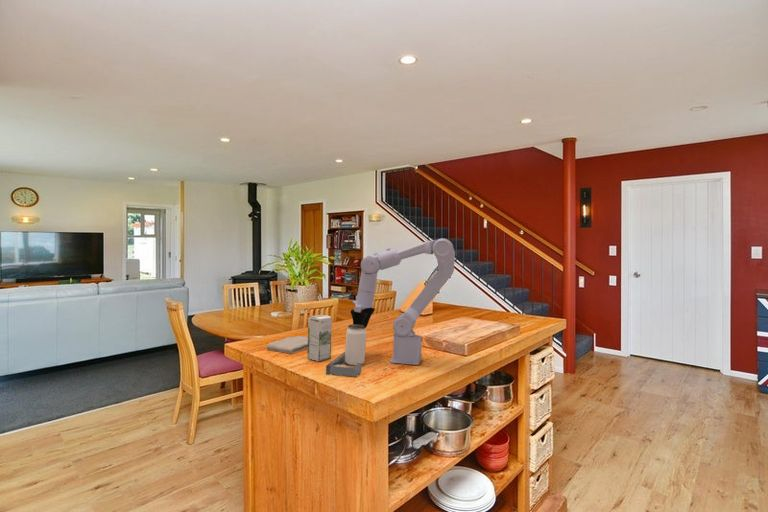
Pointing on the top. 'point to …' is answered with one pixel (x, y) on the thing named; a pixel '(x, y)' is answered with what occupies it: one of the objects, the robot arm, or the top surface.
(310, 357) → the syrup box
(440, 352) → the top surface
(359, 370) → the metal bracket
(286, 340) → the washcloth
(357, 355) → the can
